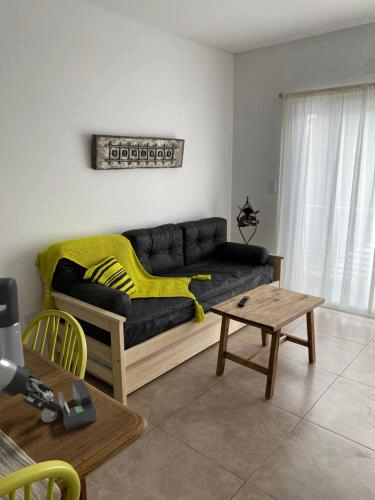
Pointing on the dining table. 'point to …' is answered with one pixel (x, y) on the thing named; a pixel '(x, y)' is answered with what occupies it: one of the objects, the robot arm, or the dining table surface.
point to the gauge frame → (80, 407)
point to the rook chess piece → (47, 414)
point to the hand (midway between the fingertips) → (53, 400)
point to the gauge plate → (63, 402)
